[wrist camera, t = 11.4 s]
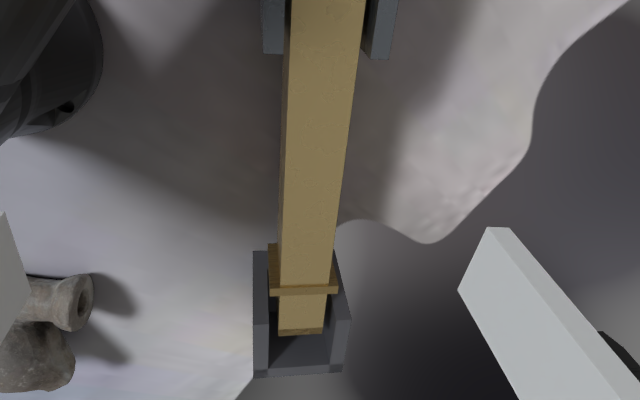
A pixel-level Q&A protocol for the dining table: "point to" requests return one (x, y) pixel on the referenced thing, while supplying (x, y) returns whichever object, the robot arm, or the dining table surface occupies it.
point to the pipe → (45, 335)
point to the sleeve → (373, 35)
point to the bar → (312, 155)
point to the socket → (296, 350)
